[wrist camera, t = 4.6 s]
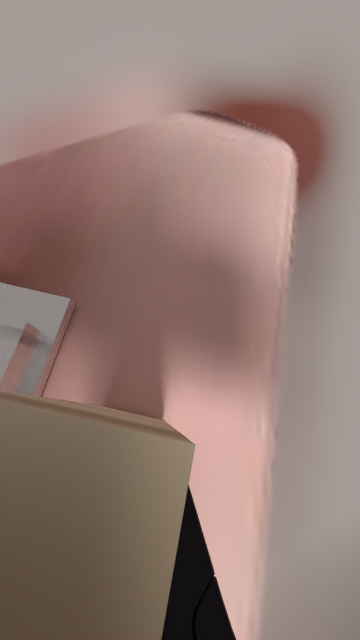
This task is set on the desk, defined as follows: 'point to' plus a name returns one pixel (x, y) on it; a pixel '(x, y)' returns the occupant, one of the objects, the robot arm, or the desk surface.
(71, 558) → the tan wooden block
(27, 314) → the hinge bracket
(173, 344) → the desk surface
